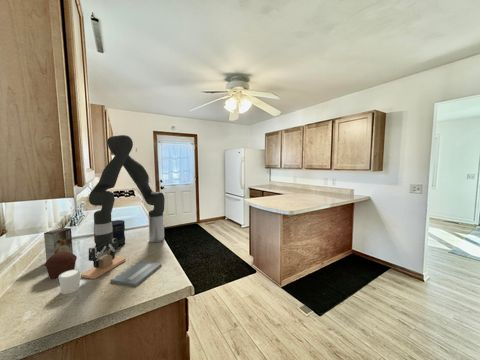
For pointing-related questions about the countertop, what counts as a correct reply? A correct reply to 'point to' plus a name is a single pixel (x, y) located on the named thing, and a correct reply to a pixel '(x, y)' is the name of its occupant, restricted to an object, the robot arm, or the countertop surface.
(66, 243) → the coffee box
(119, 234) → the storage jar
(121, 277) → the board
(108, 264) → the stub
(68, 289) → the shot glass
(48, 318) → the countertop surface
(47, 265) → the muffin
